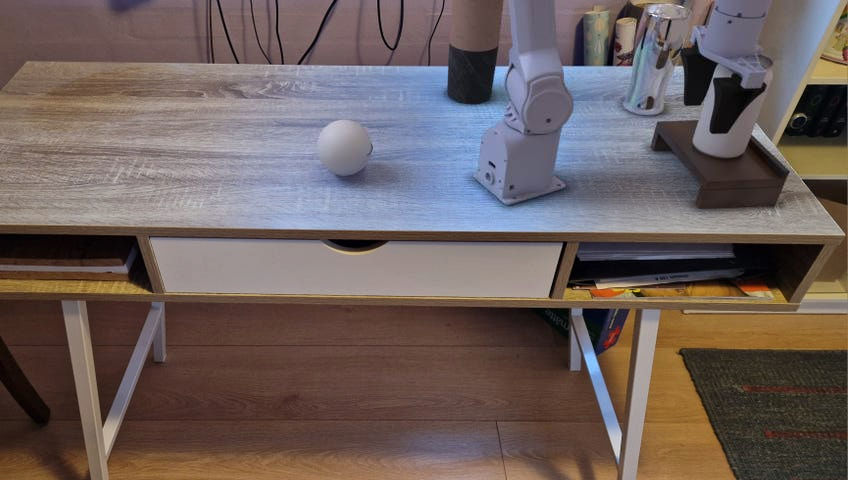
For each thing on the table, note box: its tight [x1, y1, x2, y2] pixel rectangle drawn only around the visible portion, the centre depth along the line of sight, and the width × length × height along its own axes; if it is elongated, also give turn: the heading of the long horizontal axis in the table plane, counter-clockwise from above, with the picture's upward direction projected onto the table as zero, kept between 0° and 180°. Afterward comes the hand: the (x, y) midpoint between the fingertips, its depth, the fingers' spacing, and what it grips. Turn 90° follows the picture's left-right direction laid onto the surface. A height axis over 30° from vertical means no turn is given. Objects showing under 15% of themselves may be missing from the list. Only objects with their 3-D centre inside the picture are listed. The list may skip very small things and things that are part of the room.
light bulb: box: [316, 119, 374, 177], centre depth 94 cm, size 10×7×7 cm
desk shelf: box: [650, 119, 791, 210], centre depth 93 cm, size 10×16×5 cm, turn 4°
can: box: [693, 53, 775, 159], centre depth 88 cm, size 6×6×12 cm
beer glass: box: [622, 2, 693, 116], centre depth 106 cm, size 7×7×15 cm
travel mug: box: [446, 0, 504, 105], centre depth 108 cm, size 8×8×20 cm
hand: (704, 118), depth 89 cm, fingers open, 7 cm apart
